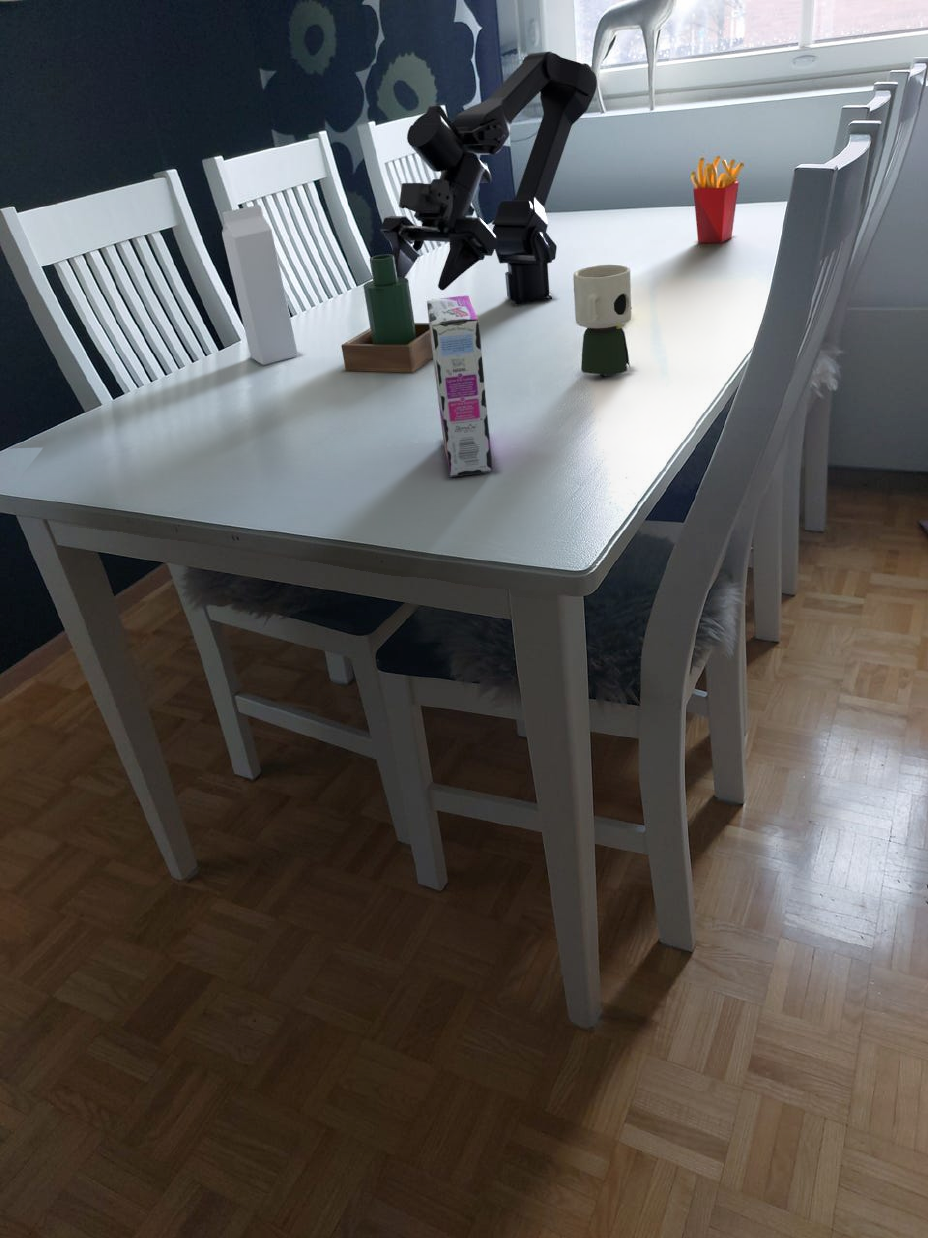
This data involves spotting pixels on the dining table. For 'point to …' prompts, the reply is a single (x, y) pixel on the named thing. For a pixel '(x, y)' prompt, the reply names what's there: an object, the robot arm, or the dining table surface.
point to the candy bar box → (460, 384)
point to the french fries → (715, 200)
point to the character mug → (603, 317)
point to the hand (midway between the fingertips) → (417, 286)
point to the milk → (258, 285)
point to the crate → (388, 353)
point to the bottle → (389, 304)
